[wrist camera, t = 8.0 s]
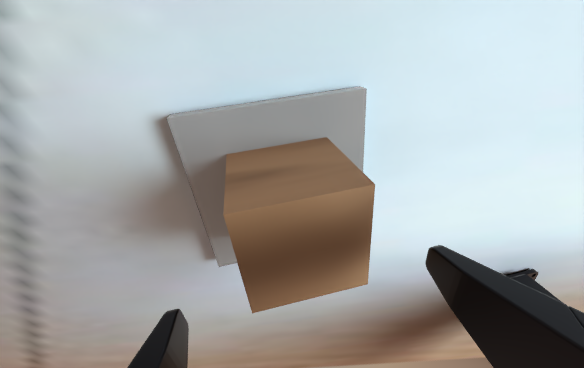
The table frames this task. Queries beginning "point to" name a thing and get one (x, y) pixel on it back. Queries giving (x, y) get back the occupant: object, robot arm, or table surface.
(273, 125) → the coaster
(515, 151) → the table surface
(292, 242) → the walnut cube
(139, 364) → the robot arm
